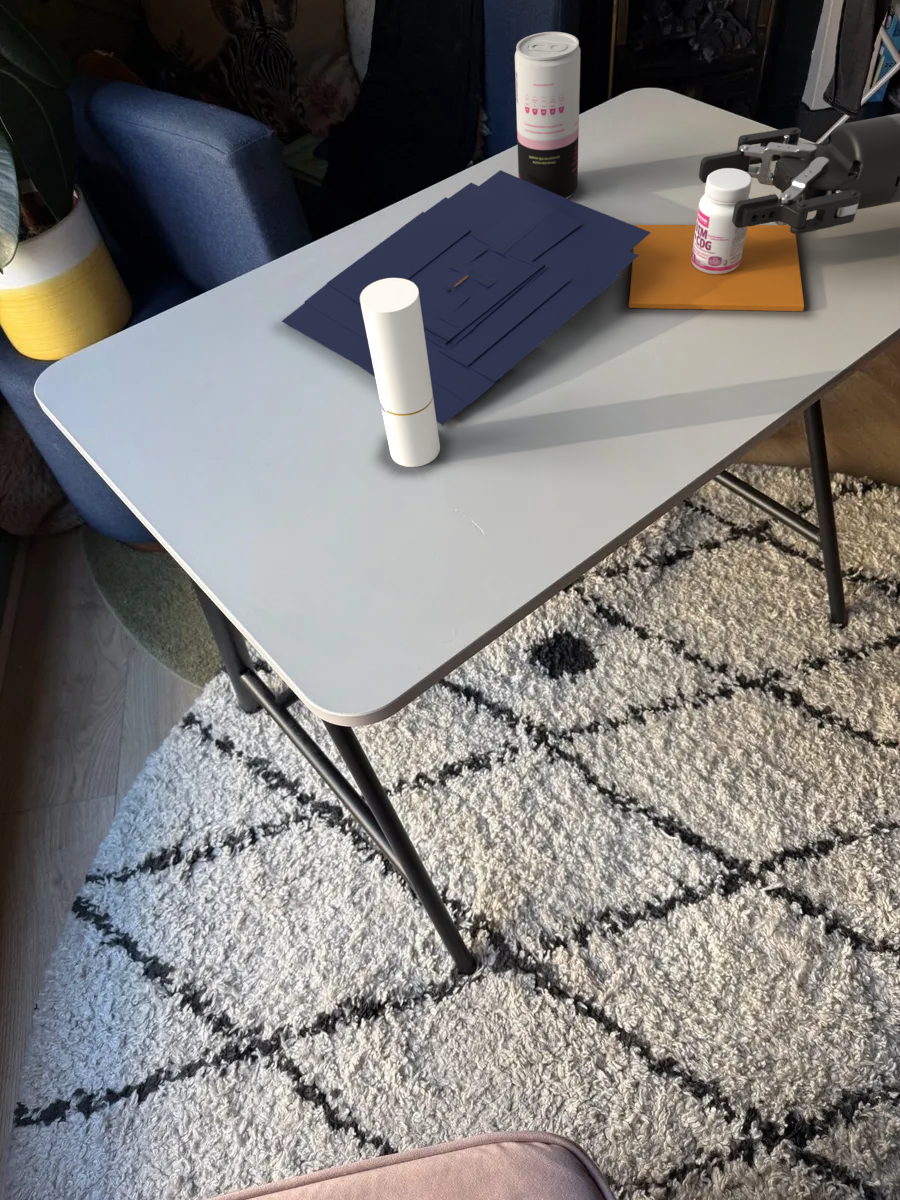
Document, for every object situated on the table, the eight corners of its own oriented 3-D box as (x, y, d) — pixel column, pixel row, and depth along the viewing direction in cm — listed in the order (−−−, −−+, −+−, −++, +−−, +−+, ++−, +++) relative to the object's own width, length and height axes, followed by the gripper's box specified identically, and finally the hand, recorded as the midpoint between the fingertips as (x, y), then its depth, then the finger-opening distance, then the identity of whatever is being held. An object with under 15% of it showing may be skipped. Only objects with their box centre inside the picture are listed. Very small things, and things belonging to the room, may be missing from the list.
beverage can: (528, 174, 102) (525, 29, 90) (583, 179, 100) (587, 32, 88) (511, 203, 98) (506, 56, 86) (568, 208, 96) (571, 59, 84)
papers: (666, 263, 86) (667, 230, 83) (450, 448, 78) (442, 419, 75) (491, 188, 98) (486, 157, 95) (288, 341, 90) (276, 312, 87)
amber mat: (793, 230, 90) (794, 224, 89) (803, 311, 81) (804, 306, 81) (634, 229, 92) (635, 224, 92) (628, 308, 84) (629, 302, 84)
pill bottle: (681, 266, 87) (692, 182, 80) (707, 244, 89) (719, 160, 82) (724, 281, 84) (739, 196, 78) (749, 258, 86) (766, 173, 80)
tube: (450, 446, 75) (430, 290, 63) (415, 474, 73) (388, 319, 61) (415, 425, 77) (389, 271, 65) (380, 452, 75) (347, 298, 63)
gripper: (861, 86, 83) (695, 116, 82) (939, 155, 74) (755, 189, 73) (840, 165, 89) (685, 194, 88) (911, 237, 80) (739, 270, 79)
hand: (717, 192), depth 81 cm, fingers open, 8 cm apart
